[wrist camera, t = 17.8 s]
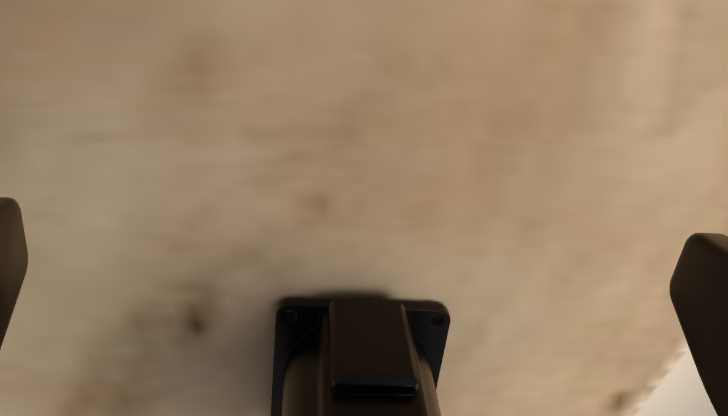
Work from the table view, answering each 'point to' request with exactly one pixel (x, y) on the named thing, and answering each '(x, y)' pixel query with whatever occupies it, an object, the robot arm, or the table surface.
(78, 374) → the table surface
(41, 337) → the table surface
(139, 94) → the table surface
